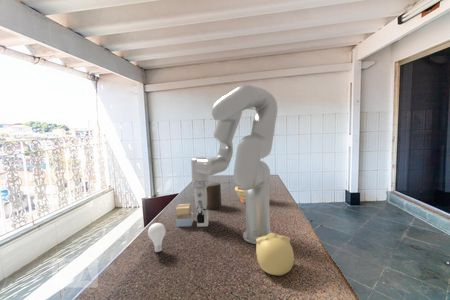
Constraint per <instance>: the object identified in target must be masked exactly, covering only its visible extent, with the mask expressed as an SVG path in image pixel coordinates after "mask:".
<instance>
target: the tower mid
mask: <svg viewBox="0 0 450 300" xmlns="http://www.w3.org/2000/svg"><path fill="white" fill-rule="evenodd" d="M191 209H192V208H191V203H182V204H181V203H180V204H177V205H176V208H175V214H176V218H177V219H184V218H190V215H191V213H192V211H191Z"/></svg>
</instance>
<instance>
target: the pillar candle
mask: <svg viewBox="0 0 450 300" xmlns="http://www.w3.org/2000/svg"><path fill="white" fill-rule="evenodd" d="M221 191H222V189H221V182H219V181H210V182H209V181H208V187H207V202H208V204H207V208H206V210H212V211H213V210H219V209H220V208H222V192H221Z"/></svg>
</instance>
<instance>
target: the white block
mask: <svg viewBox="0 0 450 300" xmlns="http://www.w3.org/2000/svg"><path fill="white" fill-rule="evenodd" d="M203 214H204V223H197V222H196V227H197V228H199V227H208V226H209V209H206V210H203Z"/></svg>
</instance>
